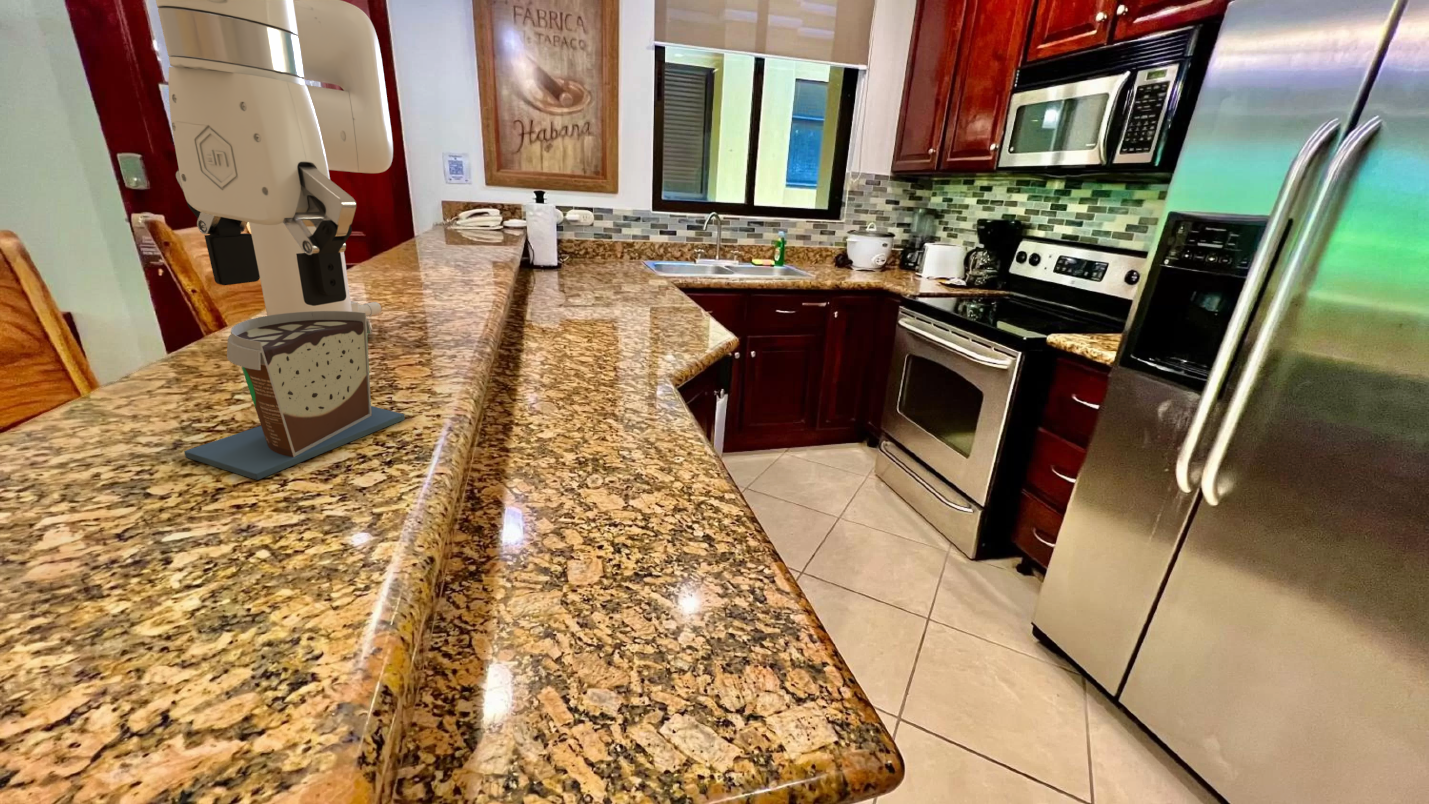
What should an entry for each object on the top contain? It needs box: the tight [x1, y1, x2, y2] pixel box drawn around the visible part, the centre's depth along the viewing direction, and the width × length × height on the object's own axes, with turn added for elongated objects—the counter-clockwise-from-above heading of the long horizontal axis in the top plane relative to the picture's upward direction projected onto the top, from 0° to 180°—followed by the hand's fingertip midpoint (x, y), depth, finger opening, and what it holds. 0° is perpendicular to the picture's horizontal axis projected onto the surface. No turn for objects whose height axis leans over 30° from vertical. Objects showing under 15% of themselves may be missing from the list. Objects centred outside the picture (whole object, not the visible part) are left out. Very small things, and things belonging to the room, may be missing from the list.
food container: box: [226, 311, 373, 457], centre depth 48 cm, size 12×6×10 cm, turn 174°
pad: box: [183, 405, 406, 481], centre depth 50 cm, size 14×8×1 cm, turn 162°
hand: (281, 292), depth 46 cm, fingers open, 9 cm apart
